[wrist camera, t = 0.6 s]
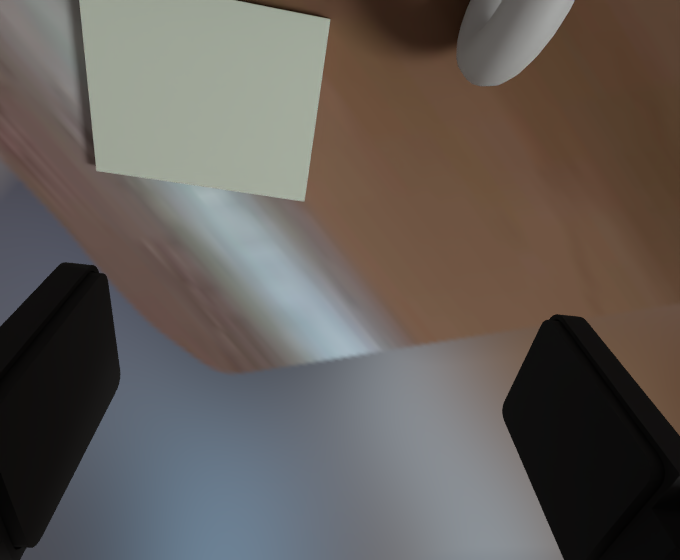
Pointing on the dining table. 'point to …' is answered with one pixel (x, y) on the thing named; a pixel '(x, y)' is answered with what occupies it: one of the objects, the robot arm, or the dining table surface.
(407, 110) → the dining table surface
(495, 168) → the dining table surface
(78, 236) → the dining table surface
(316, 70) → the sage board
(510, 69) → the donut
